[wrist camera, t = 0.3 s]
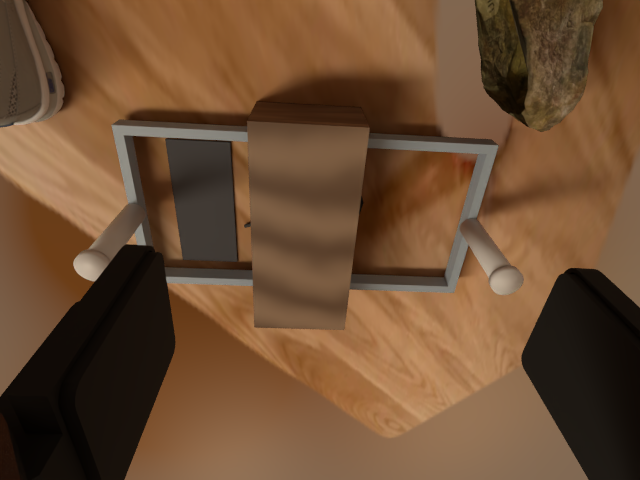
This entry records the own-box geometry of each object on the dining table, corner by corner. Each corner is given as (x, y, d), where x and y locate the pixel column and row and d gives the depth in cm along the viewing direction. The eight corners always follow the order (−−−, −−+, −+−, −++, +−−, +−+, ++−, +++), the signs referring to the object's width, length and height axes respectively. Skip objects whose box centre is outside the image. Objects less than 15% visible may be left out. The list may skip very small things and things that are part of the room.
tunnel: (256, 101, 42) (246, 121, 35) (360, 107, 42) (369, 127, 36) (261, 288, 55) (254, 327, 49) (340, 291, 55) (344, 330, 49)
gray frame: (109, 119, 42) (40, 162, 31) (500, 140, 44) (562, 188, 33) (143, 272, 52) (99, 345, 42) (456, 283, 54) (492, 355, 44)
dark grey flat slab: (165, 138, 44) (165, 139, 43) (230, 141, 44) (230, 142, 44) (183, 258, 52) (183, 259, 52) (237, 260, 52) (237, 261, 52)
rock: (470, 130, 43) (564, 109, 43) (514, 152, 34) (635, 126, 33) (458, -85, 35) (573, -115, 35) (511, -133, 26) (671, -177, 25)
